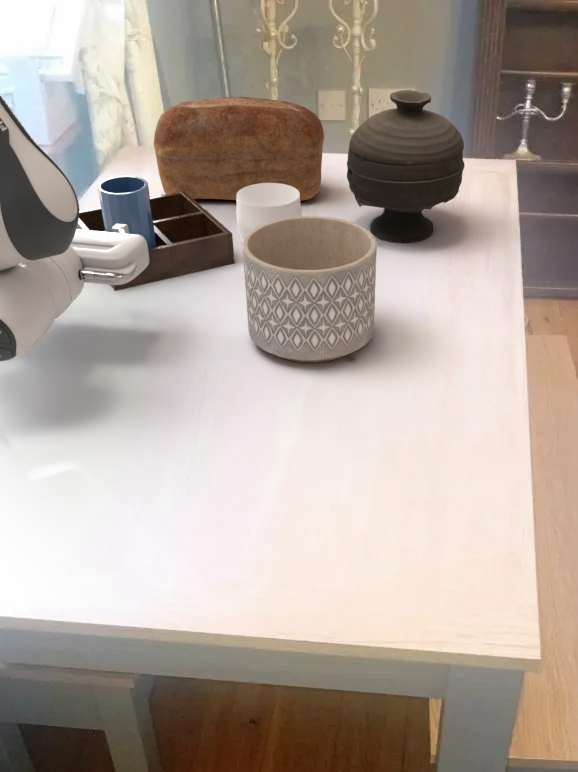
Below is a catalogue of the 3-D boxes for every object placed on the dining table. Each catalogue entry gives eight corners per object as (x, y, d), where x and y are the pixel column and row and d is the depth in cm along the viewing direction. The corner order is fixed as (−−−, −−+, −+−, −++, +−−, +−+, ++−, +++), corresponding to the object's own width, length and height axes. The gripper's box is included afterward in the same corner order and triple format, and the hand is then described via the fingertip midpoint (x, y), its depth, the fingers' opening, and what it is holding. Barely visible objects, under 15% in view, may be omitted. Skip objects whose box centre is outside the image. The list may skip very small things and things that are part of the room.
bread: (323, 208, 150) (322, 114, 140) (156, 205, 150) (143, 112, 140) (326, 181, 158) (325, 91, 148) (168, 179, 159) (156, 89, 149)
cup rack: (114, 290, 128) (108, 259, 125) (75, 242, 140) (68, 212, 137) (234, 262, 135) (232, 233, 132) (187, 218, 146) (184, 190, 143)
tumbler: (120, 276, 129) (107, 197, 121) (105, 258, 133) (91, 181, 125) (165, 266, 131) (154, 188, 123) (148, 248, 135) (137, 172, 128)
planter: (399, 340, 118) (404, 245, 109) (303, 384, 110) (300, 285, 101) (318, 296, 127) (317, 205, 118) (224, 334, 119) (215, 239, 110)
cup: (276, 299, 126) (271, 212, 118) (228, 281, 130) (221, 197, 122) (315, 276, 132) (314, 192, 123) (268, 260, 135) (264, 177, 127)
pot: (468, 207, 148) (477, 74, 133) (450, 261, 137) (457, 124, 122) (363, 199, 152) (359, 69, 137) (337, 252, 141) (330, 117, 125)
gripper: (122, 254, 104) (162, 208, 113) (-42, 239, 106) (11, 195, 116) (131, 306, 108) (168, 257, 118) (-27, 290, 111) (22, 243, 120)
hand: (89, 226), depth 117 cm, fingers open, 8 cm apart
